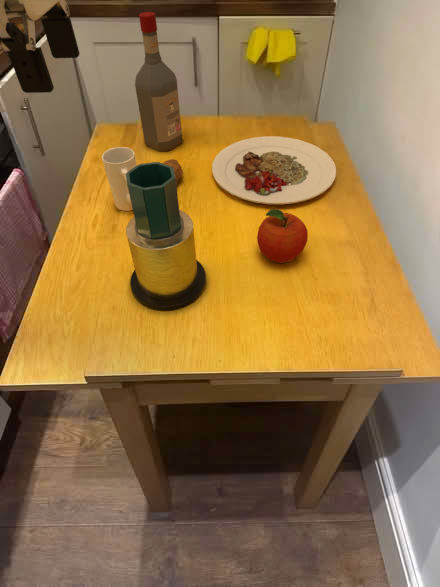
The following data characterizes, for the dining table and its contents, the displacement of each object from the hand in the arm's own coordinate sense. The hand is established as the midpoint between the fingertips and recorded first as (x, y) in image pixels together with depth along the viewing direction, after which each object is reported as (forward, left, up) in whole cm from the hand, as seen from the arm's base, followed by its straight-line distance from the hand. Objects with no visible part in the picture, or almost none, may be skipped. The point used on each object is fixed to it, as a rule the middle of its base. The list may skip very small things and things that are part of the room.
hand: (53, 73), depth 45 cm
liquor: (-29, +49, -39) cm, 69 cm away
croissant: (-16, +35, -39) cm, 54 cm away
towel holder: (+5, +8, -38) cm, 39 cm away
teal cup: (+5, +8, -25) cm, 26 cm away
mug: (-17, +22, -39) cm, 48 cm away
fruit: (+19, +26, -39) cm, 50 cm away
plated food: (+3, +51, -39) cm, 64 cm away
